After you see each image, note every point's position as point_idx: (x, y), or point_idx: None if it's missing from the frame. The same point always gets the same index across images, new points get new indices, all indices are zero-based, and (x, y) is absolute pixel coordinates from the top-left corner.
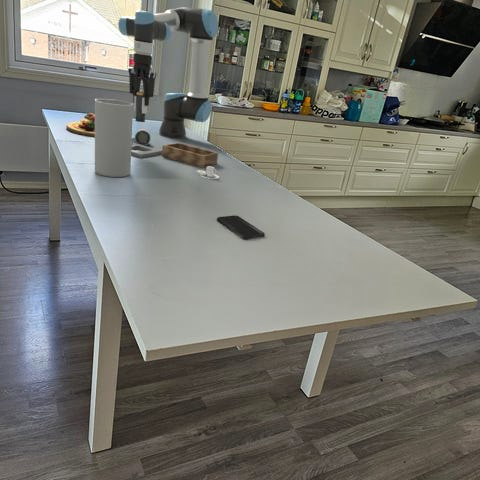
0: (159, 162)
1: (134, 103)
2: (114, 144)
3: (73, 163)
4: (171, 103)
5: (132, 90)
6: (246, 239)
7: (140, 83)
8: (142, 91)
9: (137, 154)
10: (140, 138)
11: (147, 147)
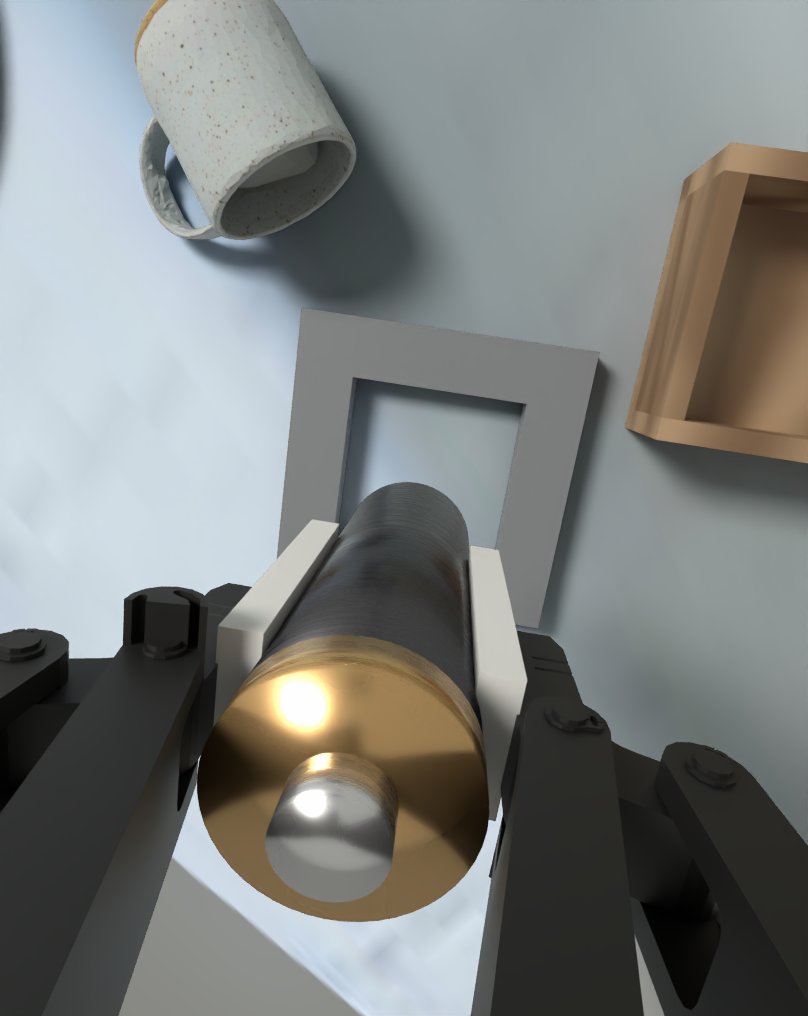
0: (697, 619)
1: None
2: None
3: (349, 977)
4: None
5: (16, 773)
6: None
7: (72, 969)
8: (387, 858)
9: None
10: (255, 181)
11: (443, 358)
